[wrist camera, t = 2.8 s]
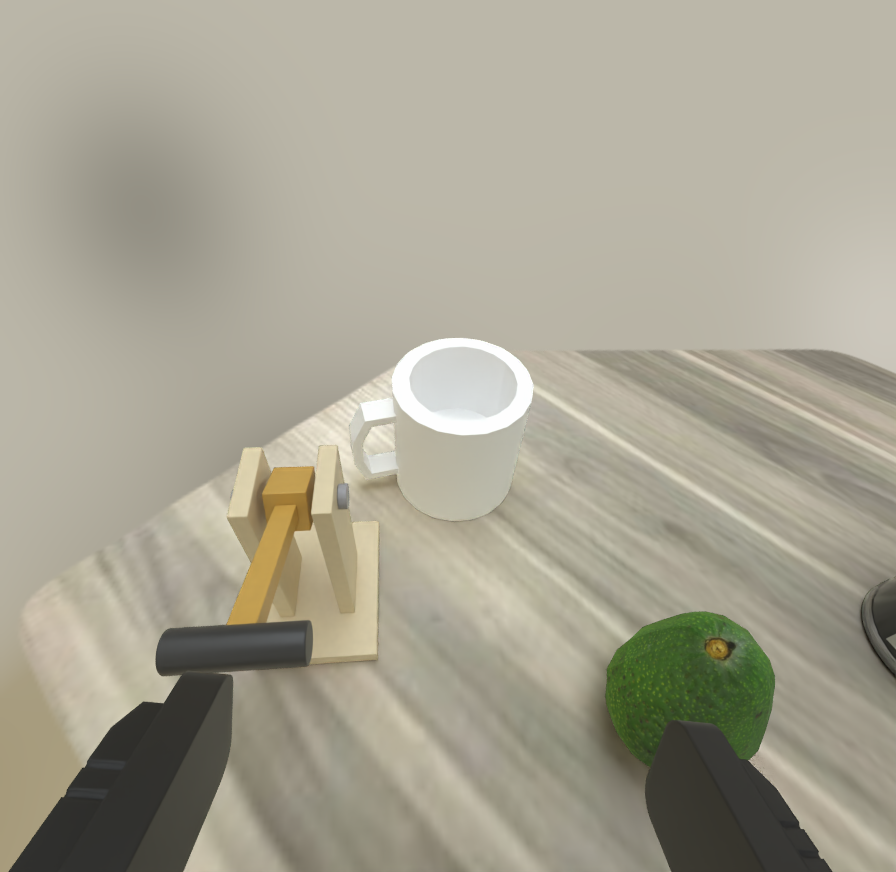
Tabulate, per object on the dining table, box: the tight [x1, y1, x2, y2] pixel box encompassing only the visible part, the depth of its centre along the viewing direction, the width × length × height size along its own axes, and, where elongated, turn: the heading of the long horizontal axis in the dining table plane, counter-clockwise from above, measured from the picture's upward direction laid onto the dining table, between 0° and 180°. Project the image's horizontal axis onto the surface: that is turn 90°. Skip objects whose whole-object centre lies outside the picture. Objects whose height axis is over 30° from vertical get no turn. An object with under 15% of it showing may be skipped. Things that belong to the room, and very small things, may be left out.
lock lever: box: [156, 466, 315, 676], centre depth 23 cm, size 12×5×2 cm, turn 5°
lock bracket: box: [227, 445, 379, 664], centre depth 31 cm, size 10×8×14 cm
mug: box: [349, 338, 533, 521], centre depth 39 cm, size 14×10×11 cm
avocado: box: [605, 612, 775, 767], centre depth 27 cm, size 8×8×12 cm
